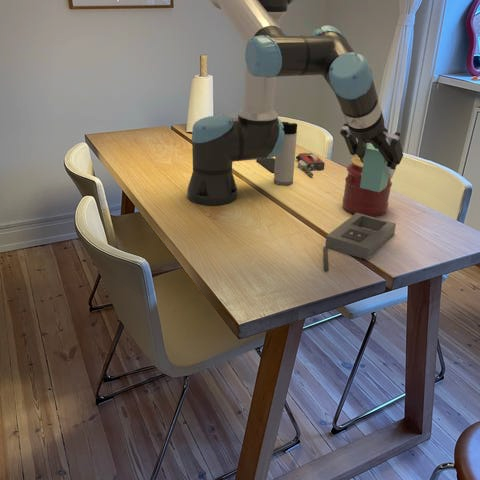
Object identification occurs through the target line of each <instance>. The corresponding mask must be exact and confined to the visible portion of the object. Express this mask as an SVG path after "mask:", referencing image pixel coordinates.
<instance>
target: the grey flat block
mask: <svg viewBox="0 0 480 480" xmlns="http://www.w3.org/2000/svg"><path fill="white" fill-rule="evenodd" d="M396 225H397V223H396V222H393V221H389V220H386V219H385V220H384V219H382V218H377V217H376V216H367V215H364V214H360V213H355V214H353V215H351V216H350V217H349V218H347V219H346V220H345V221H344V222H342V223H341V224H340V225H339V226H337V227H336V228H335V229H333V230H332V231H331V232H329V233H328V234H327V235H326V238H325V245H324V246H327V248H328V249H332V250H334V251H338V252H340V253H344V254H345V255H346V254H347V255H351V256H353V257H355V258H360V259H362V258H365V259H368V258H369V257H370V256H371V255H372V254H373V253H374V252H375V251H376V250H377V249H378V248H379V247H380V248H381V247H382V246H383V245H384V244H385V243H387V241H388V240H389V239H390V238H391V237H392V236H394V234H395V231H396ZM359 226H360V227H359ZM377 230H378V231H377ZM382 244H383V245H382ZM381 245H382V246H381ZM380 248H379V249H380ZM379 249H378V250H379ZM378 250H377V251H378ZM377 251H376V252H377ZM376 252H375V253H376ZM375 253H374V254H375ZM374 254H373V255H374ZM373 255H372V256H373ZM372 256H371V257H372ZM371 257H370V258H371ZM370 258H369V259H370ZM365 259H364V260H365ZM369 259H368V260H369Z"/></svg>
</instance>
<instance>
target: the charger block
mask: <svg viewBox="0 0 480 480" xmlns="http://www.w3.org/2000/svg"><path fill="white" fill-rule="evenodd" d="M366 147H367V148H366V149H365V156H364V163H363V169H362V176H361V183H360V188H364V189H368V190H372V191H376V192H380V191H382V190H383V189H384V188H386V187H387V183H388V177H389V176H388V173H387V169H386V166H385V163H386V160H385V159H384V157H383V156H382V154H381V153H380V152H379V150H378V149H375V148H374V146H373V145H372V144H371V145H369V146H366Z"/></svg>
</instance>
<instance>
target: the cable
mask: <svg viewBox="0 0 480 480" xmlns="http://www.w3.org/2000/svg"><path fill="white" fill-rule="evenodd" d="M322 249H323V253H322V254H323V270H324V272H327V271H329V253H328V252H329V250H328V249H329V248H328V247H327V246H325V245H324V246H323V248H322Z"/></svg>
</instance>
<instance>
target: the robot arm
mask: <svg viewBox="0 0 480 480" xmlns="http://www.w3.org/2000/svg"><path fill="white" fill-rule="evenodd" d="M209 1H210V2H211V4H212V5H213V6H214V7H215V8H217V9H219V10H221V11H222V12H223V14H225V16H226V18H227V19H228V21H229V22H230V24H231V25H232V27H233V28H234V30H236V33H237V34H238V35H239V37H240V38H241V40H242V41H243V42H244V44H245V45H246V46H245V51H244V56H245V57H244V58H245V59H244V60H245V70H244V71H245V74H244V75H245V77H244V92H243V93H244V96H243V97H244V98H243V107H242V108H241V109H240V110H239V111H238V113H237V120H234V119H233V117H231V116H230V115H225V114H224V115H222V114H221V115H218V114H217V115H209V116H206V117H202V118H200V119H198V120H197V121H195V122H194V124H193V126H192V131H191V142H192V143H191V145H192V146H191V148H192V150H191V151H192V174H191V177H190V179H189V183H188V185H187V191H186V193H187V199H188V200H189V201H191V202H193V203H196V204H198V205H199V204H200V205H204V206H221V205H226V204H230V203H232V202H234V201H236V200H237V198H238V186H237V184H236V180H235V177H234V174H233V162H243V161H244V162H245V161H253V160H254V161H255V160H257V159H262V160H263V159H266V158H275V156H276V155H277V154H278V153H279V152H280V150H281V148H282V146H283V142H284V131H283V129H284V127H283V123H282V122H283V121H282V120H281V119H280V118H279V114H278V112H277V111H275V109H274V107H275V106H274V104H275V93H276V81H277V77H278V78H279V77H297V76H299V77H300V76H302V77H303V76H305V77H306V76H322V77H323V78H324V79H325V81H326V83H327V84H328V85H329V87H330V88H331V90H332V92H333V94H334V96H335V97H336V99H337V101H338V104H339V106H340V108H341V112H342V114H343V118H344V120H345V123H343V125H342V128H341V130H340V131H339V133H340V135H341V136H342V137H343V138H344V141H345V143H346V144H345V145H346V147H347V148H348V152H349V154H350V155H351V156H355V155H356V156H357V155H358V157H359V158H360V160H361V162H362V163H364V156H365V149H366V148H367V147H368V146H367V144H371V145H373V146H374V148H375V149H378V150H379V152H380V153H381V154H382V156H383V157H384V159H385V160H386V163H385V166H386V169H387V173H388V176H389V178H391V179H393V177H394V175H395V173H396V170H397V166H398V165H400V164H401V161H402V159H403V157H404V152H403V148H402V144H401V140H400V137H401V133H400V132H398V131H396V132H394V134H393V133H391V132H389V130H388V129H387V128H386V127H385V119H384V118H385V117H384V115H383V112H382V108H381V103H380V101H379V96H378V94H377V88H376V86H375V82H374V78H373V71H372V68H371V66H369V62H368V60H367V59H366V57H365V56H364V55H363V54H360V53H357V52H356V51H355V50H354V49H353V48H352V46H351V45H350V43H349V41H348V39H347V38H346V37H345V36H344V35H343V34H342V33H341V31H339V29H338V28H336V27H335V26H332V25H323V26H321V27H319V28H316V29H315V30H313V32H312V33H311V34H310V35H286V34H285V32H284V30H282V29H281V27H280V26H281V19H282V17H284V15H286V14H287V13H288V5H291V4H293V3H294V2H295V0H209Z"/></svg>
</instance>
